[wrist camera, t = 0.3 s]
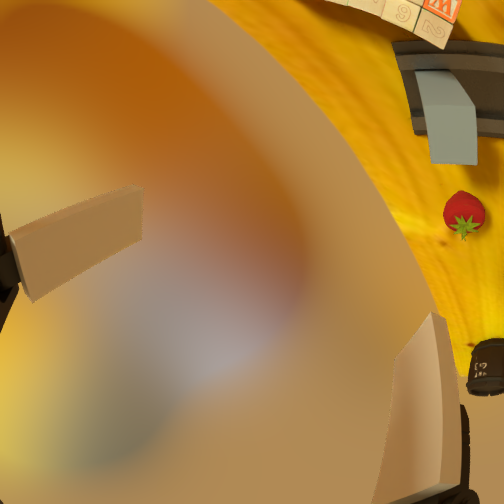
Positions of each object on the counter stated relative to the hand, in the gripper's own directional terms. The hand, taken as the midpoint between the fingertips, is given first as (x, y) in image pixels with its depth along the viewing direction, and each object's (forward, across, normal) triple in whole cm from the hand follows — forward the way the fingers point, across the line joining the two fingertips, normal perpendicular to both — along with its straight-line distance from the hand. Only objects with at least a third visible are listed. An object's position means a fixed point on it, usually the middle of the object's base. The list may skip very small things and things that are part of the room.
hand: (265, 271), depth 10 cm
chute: (+28, +15, +20) cm, 37 cm away
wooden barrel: (+60, +71, -32) cm, 98 cm away
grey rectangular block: (+29, +8, +17) cm, 35 cm away
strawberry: (+37, +20, +5) cm, 42 cm away
